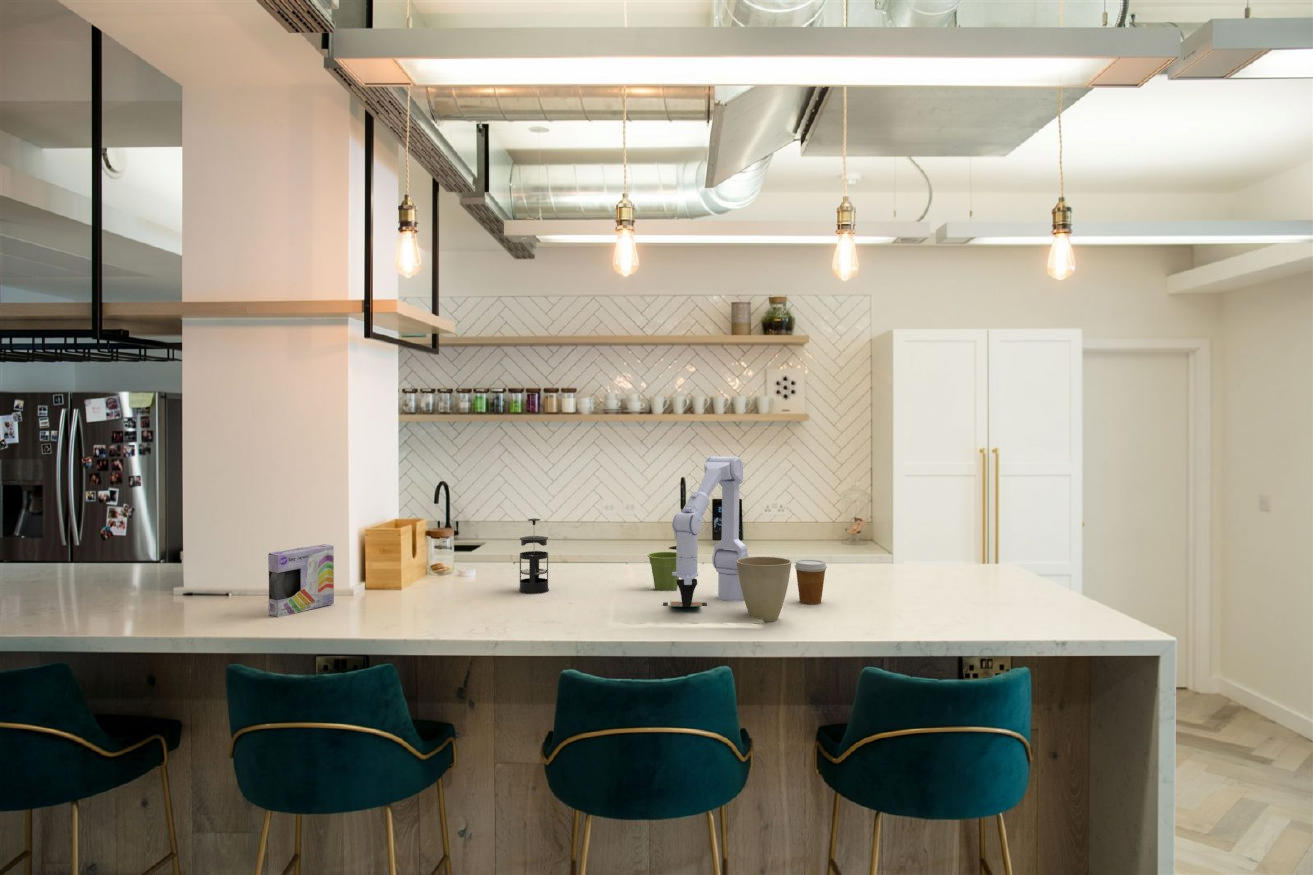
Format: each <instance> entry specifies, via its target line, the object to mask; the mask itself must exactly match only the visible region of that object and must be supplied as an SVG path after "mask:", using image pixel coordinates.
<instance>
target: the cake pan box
mask: <svg viewBox="0 0 1313 875" xmlns="http://www.w3.org/2000/svg"><path fill="white" fill-rule="evenodd" d="M334 546H335V545H330V544H326V543H323V544H319V545H318V544H317V545H310V546H302V547H295V548H290V549H285V550H280V551H279V550H278V551H273V552H268V554H267V557H268V560H267V561H268V616H270V617H271V616H272V617H276V618H281V617H285V616H289V615H293V614H297V613H298V614H299V613H302V612H305V611H310V610H314V609H319V608H321V607H326V606H329V605H333V604H334V603H335V591H334V589H335V576H334V574H335V572H334V570H335V569H334V568H335V567H334V566H335V564H334V562H335V561H334V559H335V556H334V554H335V553H334V550H335V548H334Z"/></svg>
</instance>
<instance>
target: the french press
mask: <svg viewBox="0 0 1313 875" xmlns="http://www.w3.org/2000/svg"><path fill="white" fill-rule="evenodd" d="M527 521H528V522H532V526H533V531H532V532H533V533H532V534H533V535H528V536H522V537H520V538H519V540H520V545H521V546H522V547H524V546H526V545H527V544H532V545H533V549H532V550H533V551H532V550H529V551H523V552H520V553H519V589H518V592H519V593H521V594H526V595H536V594H539V595H540V594H544V593H548V592H549V590H550V589H549V552H548V551H543V550H542V551H541V550H535V547H536V545H535V544H539V545H541V546H543V547H545V546H547V545H548V544H547V543H548V542H547V541H548V540H549V537H547V536H542V535H535V533H536V532H535V526H536V525H537V524H536V522H539V521H541V519H540V518H535V517H534V518H533V517H532V518H528V519H527ZM544 559H545V560H546V569H545V568H540V560H544ZM522 560H529V568H525V569H522ZM522 574H523V575H525V576H526V575H527V576H529V577H527V578H522ZM544 574H546V577H545V578H544V577H540V575H544Z"/></svg>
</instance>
